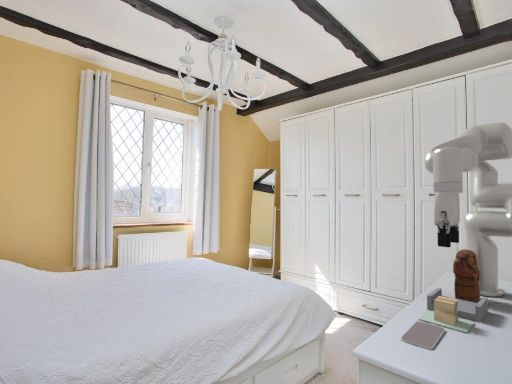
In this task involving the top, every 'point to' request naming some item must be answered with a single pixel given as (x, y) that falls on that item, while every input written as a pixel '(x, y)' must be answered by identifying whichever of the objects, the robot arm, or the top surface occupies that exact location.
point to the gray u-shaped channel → (463, 306)
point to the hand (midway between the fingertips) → (448, 244)
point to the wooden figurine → (466, 276)
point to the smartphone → (423, 335)
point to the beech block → (446, 310)
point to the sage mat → (459, 326)
